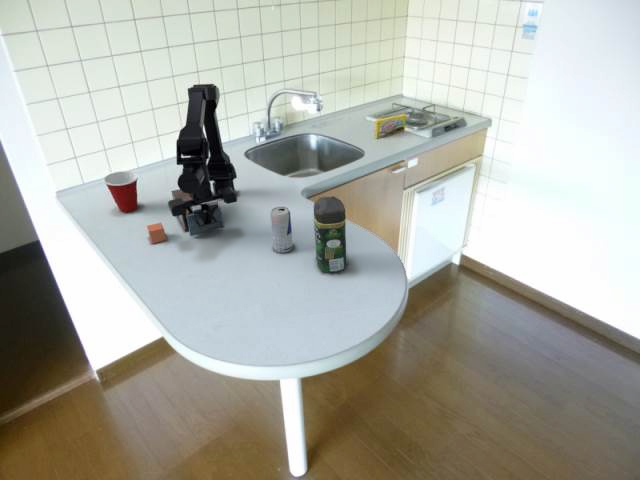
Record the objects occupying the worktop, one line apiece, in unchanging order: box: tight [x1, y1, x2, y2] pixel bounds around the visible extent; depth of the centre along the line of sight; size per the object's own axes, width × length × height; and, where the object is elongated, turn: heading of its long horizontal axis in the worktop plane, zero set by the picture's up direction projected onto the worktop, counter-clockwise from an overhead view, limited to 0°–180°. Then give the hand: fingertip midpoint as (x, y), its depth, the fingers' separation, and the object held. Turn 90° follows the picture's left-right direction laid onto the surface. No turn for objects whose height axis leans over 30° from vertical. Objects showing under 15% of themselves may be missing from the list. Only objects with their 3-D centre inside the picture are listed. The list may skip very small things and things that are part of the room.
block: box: [146, 222, 167, 245], centre depth 139 cm, size 4×4×4 cm
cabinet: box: [170, 188, 219, 232], centre depth 149 cm, size 13×11×8 cm
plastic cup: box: [102, 170, 139, 214], centre depth 156 cm, size 11×11×12 cm
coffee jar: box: [313, 196, 347, 274], centre depth 121 cm, size 10×8×19 cm
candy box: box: [373, 113, 407, 140], centre depth 211 cm, size 16×2×8 cm, turn 120°
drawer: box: [184, 204, 225, 237], centre depth 143 cm, size 17×10×7 cm, turn 27°
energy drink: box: [270, 206, 294, 253], centre depth 130 cm, size 5×5×12 cm
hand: (207, 227), depth 138 cm, fingers closed, pressing on drawer
